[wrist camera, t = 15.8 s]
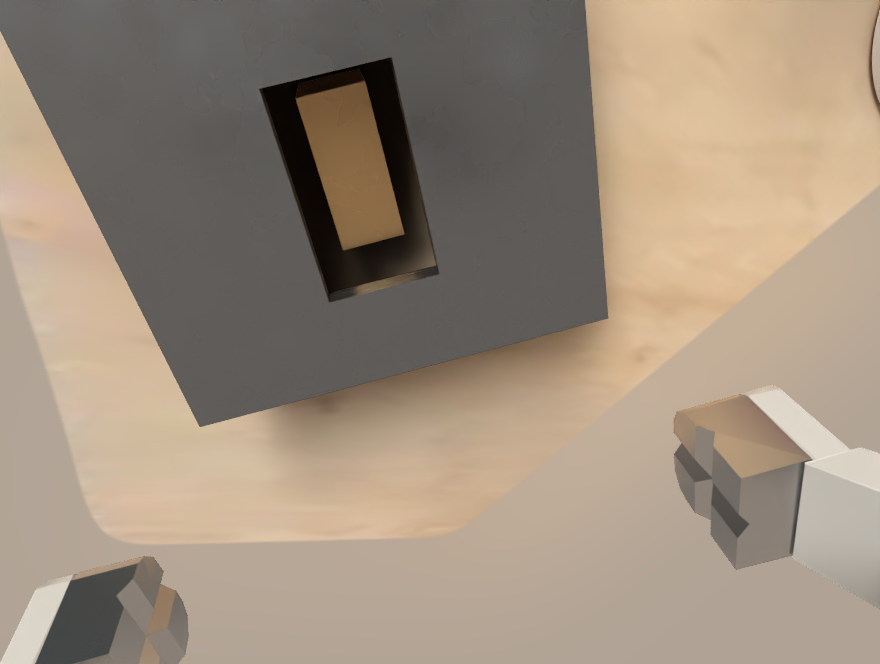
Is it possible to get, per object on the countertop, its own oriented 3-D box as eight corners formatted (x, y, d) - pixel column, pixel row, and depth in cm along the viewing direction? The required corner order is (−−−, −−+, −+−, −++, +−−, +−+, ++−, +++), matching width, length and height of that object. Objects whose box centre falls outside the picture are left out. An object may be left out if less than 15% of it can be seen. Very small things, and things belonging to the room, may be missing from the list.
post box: (511, -105, 28) (574, -135, 21) (553, 257, 37) (608, 318, 30) (68, -3, 27) (-17, -1, 20) (222, 343, 36) (199, 426, 29)
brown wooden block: (358, 68, 31) (365, 80, 26) (393, 203, 34) (404, 234, 30) (298, 83, 30) (295, 98, 26) (339, 217, 34) (343, 250, 30)
